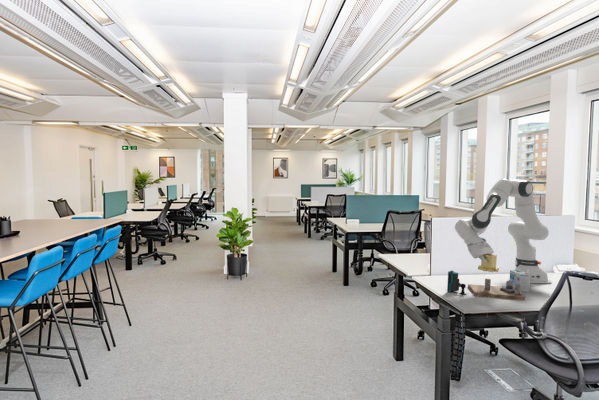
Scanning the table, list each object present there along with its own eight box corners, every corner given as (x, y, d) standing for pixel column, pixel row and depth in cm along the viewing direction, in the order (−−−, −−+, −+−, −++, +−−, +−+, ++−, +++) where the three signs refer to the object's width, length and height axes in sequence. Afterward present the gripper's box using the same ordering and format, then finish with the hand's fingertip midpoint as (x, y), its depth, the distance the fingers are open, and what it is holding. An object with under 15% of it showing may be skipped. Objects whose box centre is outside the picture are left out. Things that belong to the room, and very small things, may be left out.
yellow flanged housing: (483, 266, 233) (484, 252, 232) (501, 270, 224) (502, 255, 224) (474, 269, 226) (475, 254, 225) (493, 273, 218) (494, 257, 217)
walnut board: (513, 290, 230) (514, 277, 230) (524, 300, 213) (525, 286, 212) (467, 287, 236) (468, 274, 235) (475, 296, 218) (475, 282, 218)
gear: (515, 289, 227) (516, 278, 227) (521, 293, 218) (522, 282, 218) (497, 287, 229) (498, 277, 229) (502, 292, 220) (503, 281, 220)
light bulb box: (508, 286, 240) (509, 269, 240) (518, 286, 241) (519, 269, 240) (519, 291, 230) (520, 274, 229) (529, 291, 230) (531, 274, 229)
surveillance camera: (464, 275, 217) (447, 271, 225) (463, 295, 218) (446, 291, 225) (468, 273, 221) (452, 270, 229) (467, 294, 222) (451, 290, 229)
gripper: (469, 241, 223) (485, 261, 216) (486, 238, 236) (501, 257, 229) (462, 247, 227) (477, 267, 220) (478, 244, 240) (493, 262, 232)
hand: (489, 261), depth 224 cm, fingers closed on yellow flanged housing, 6 cm apart
